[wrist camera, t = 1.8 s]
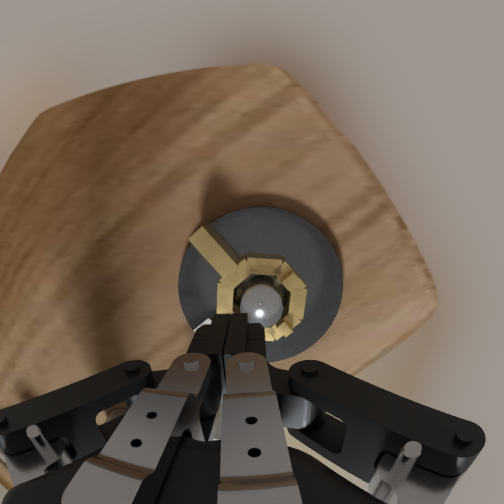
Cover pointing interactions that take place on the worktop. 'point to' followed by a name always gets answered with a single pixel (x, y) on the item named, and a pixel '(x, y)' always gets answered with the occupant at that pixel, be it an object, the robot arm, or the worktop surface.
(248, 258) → the tan curved piece
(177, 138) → the worktop surface
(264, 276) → the flange
